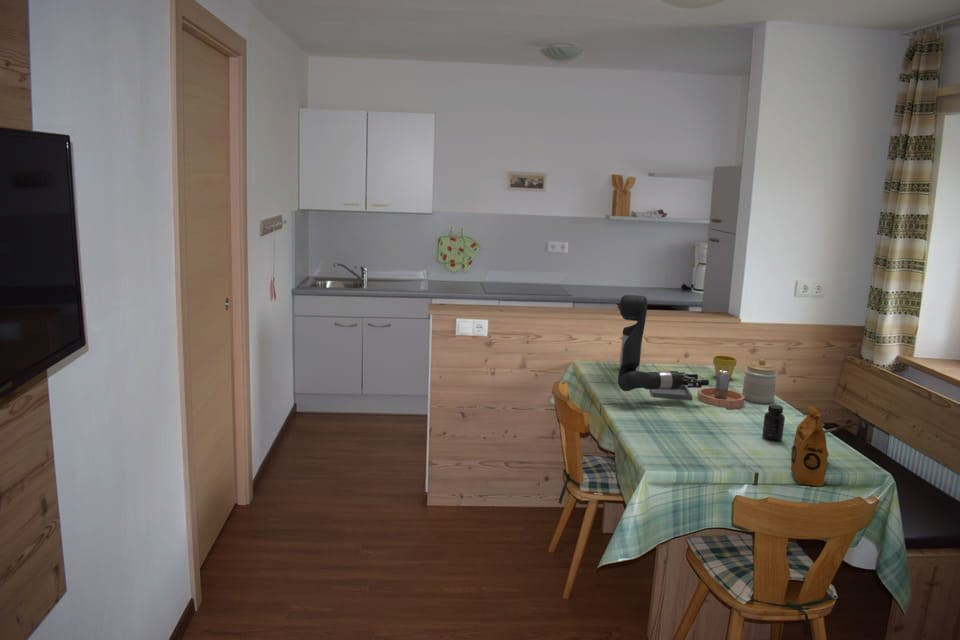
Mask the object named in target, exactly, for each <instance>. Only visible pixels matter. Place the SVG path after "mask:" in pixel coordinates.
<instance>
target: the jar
mask: <svg viewBox="0 0 960 640" xmlns="http://www.w3.org/2000/svg"><path fill="white" fill-rule="evenodd" d="M776 371H777V368H776V367H775V366H774V365H773V364H772V363H768V362H766V359H764V358H760V359H759V360H758V361H752V362H750V363H749V364H747V368H746V369H744V373H745V376H744V377H743V385H742V391H741V394H743V396H744V397H745V401H748V402H750V403H751V402H752V403H757V404H771V402H772V403H774V400H775V392H776V385H777V381H776V378H777V376H778V373H777V372H776Z"/></svg>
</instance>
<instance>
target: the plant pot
mask: <svg viewBox="0 0 960 640" xmlns="http://www.w3.org/2000/svg"><path fill="white" fill-rule="evenodd" d="M737 362H738V360H737V357H734V356H730V355H719V354H718V355H713V358H712V364H713V366H714V373H715V375H714V376H715V378H717V373H718V371H719V370H722V371H728V373H729V374H730V377H729V381H730V380H731V378H732V376H733V372H734V370H735V367H736V366H737V364H738V363H737Z"/></svg>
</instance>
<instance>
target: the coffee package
mask: <svg viewBox="0 0 960 640" xmlns="http://www.w3.org/2000/svg"><path fill="white" fill-rule="evenodd" d="M806 410H807V412H808V414H807V415H806V416H805V418H803V420H802V421H801V422H800V423H799V424H798V425H797V427H796V430H795V436H794V440H793V443H792V444H793V445H792V446H793V450H791V456H790V470H791V473H792V475H793V477H794V478H795V479H796V482H797V483H798V484H799V485H806V486H812V487H816V488H817V487H819V488H823V486H824V482H825V477H826V474H827V473H826V472H827V466H828V457H829V455H828V454H829V452H828V453H827V450H828V448H827V438H826V437H827V436H826V433H824V426H823V427H822V424H821V412H820V411H819V410H818V409H816V408H815V407H814V406H811V405H810V406H808V408H807V409H806Z"/></svg>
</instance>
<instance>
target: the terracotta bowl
mask: <svg viewBox="0 0 960 640" xmlns="http://www.w3.org/2000/svg"><path fill="white" fill-rule="evenodd" d="M714 395H715V387H702V388H699V389H698V390H697V396H696V397H697V399H698V400H699V401H700V402H701V403H704V404H707V405H712V406H717V407H723V408H725V409H727V410H734V409H735V410H736V409H741V408H743V407H744V406H745V401H746V400H745V397H744V396H743V394H742V392H738V391H736V390H733V389H728V393H727V400H725V399H717V398H714Z"/></svg>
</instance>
